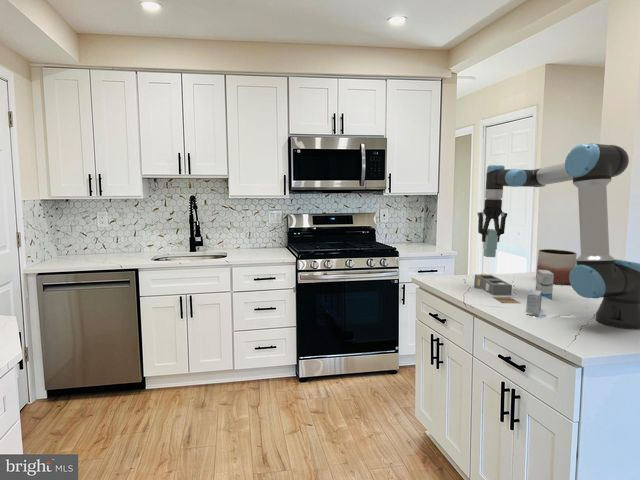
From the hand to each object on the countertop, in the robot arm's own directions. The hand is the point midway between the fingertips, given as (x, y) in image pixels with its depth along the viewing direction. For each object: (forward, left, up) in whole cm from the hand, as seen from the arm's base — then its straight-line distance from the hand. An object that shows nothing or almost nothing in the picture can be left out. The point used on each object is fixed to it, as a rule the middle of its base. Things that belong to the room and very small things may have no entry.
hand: (489, 248), depth 207 cm
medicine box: (-39, -2, -20) cm, 44 cm away
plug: (0, 0, -4) cm, 4 cm away
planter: (+20, -44, -20) cm, 52 cm away
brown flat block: (-24, +2, -20) cm, 31 cm away
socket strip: (-5, 0, -20) cm, 20 cm away
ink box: (-13, -20, -20) cm, 31 cm away
